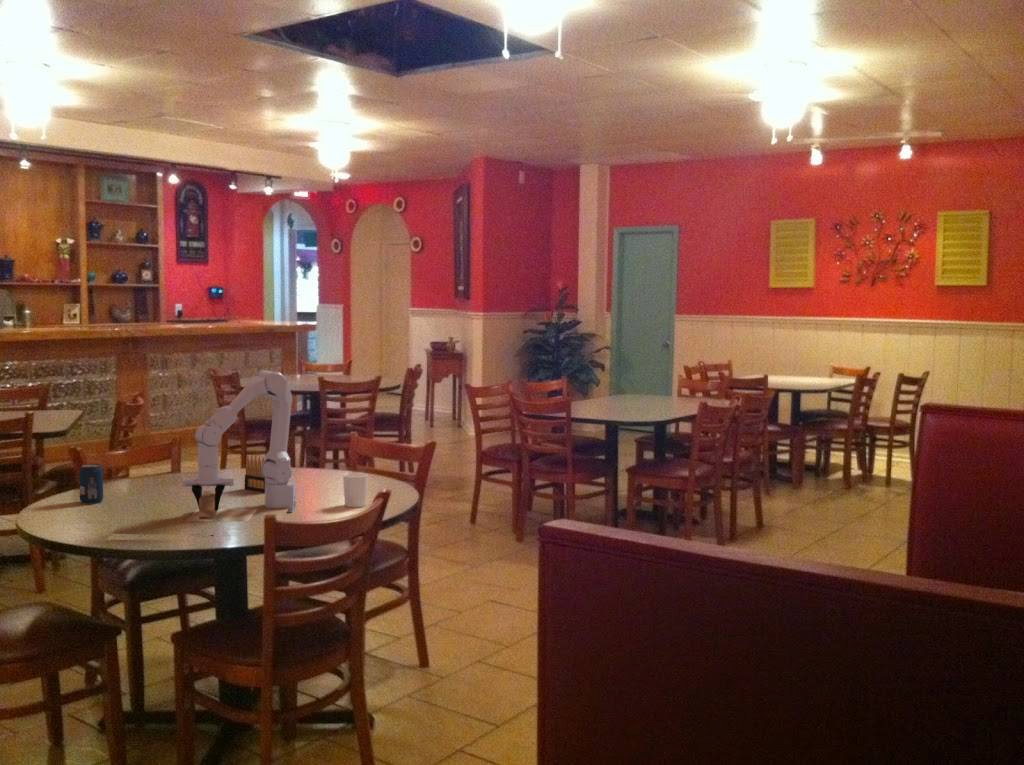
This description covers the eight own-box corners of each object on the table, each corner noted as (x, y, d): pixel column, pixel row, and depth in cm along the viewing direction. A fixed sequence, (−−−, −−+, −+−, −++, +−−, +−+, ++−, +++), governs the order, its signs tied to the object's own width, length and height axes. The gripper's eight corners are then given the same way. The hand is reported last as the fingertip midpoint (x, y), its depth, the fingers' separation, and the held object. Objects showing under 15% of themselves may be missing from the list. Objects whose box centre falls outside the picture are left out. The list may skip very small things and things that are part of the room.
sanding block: (218, 509, 310) (217, 490, 309) (213, 518, 298) (213, 498, 297) (204, 510, 309) (204, 490, 308) (199, 519, 297) (199, 499, 297)
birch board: (257, 513, 312) (257, 508, 312) (248, 526, 296) (247, 521, 296) (198, 513, 311) (198, 508, 311) (185, 525, 295) (185, 520, 295)
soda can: (94, 498, 328) (93, 462, 327) (108, 501, 324) (107, 464, 323) (75, 502, 322) (74, 465, 321) (89, 505, 318) (88, 468, 317)
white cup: (371, 503, 329) (371, 473, 328) (361, 508, 321) (361, 478, 320) (349, 501, 331) (349, 471, 330) (338, 507, 324) (338, 476, 323)
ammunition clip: (271, 492, 344) (271, 457, 342) (267, 493, 342) (267, 458, 341) (248, 488, 349) (248, 454, 348) (244, 489, 347) (244, 454, 346)
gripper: (234, 462, 307) (235, 506, 308) (185, 463, 304) (185, 507, 306) (232, 466, 300) (232, 511, 301) (181, 467, 297) (182, 512, 299)
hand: (208, 509), depth 303 cm, fingers closed on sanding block, 4 cm apart
